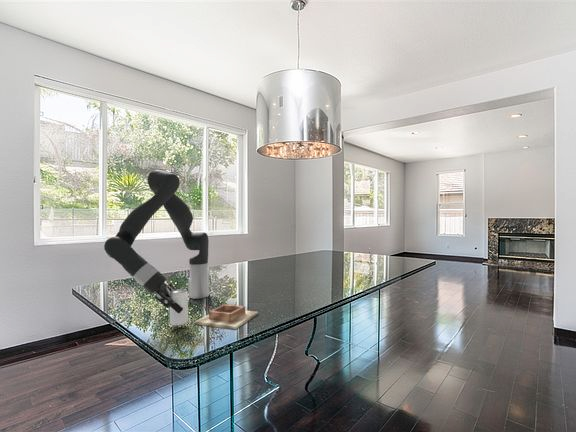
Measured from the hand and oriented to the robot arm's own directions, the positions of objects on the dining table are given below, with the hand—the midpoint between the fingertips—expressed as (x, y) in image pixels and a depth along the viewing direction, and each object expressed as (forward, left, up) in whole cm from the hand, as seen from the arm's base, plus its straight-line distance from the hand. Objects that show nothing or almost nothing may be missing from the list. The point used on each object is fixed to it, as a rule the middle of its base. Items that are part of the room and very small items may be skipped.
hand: (183, 308), depth 114 cm
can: (-2, -1, -6) cm, 6 cm away
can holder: (+11, +13, -7) cm, 18 cm away
